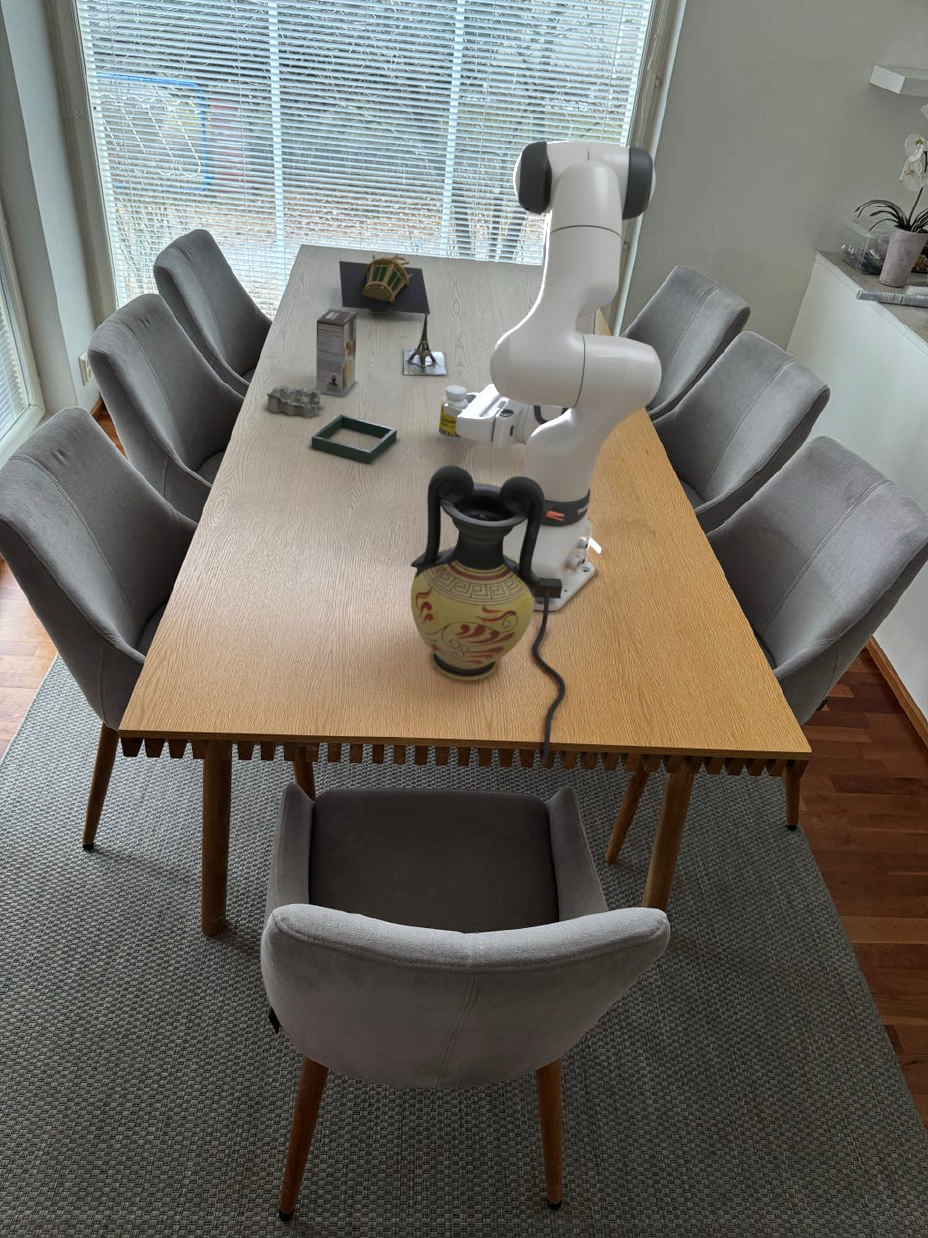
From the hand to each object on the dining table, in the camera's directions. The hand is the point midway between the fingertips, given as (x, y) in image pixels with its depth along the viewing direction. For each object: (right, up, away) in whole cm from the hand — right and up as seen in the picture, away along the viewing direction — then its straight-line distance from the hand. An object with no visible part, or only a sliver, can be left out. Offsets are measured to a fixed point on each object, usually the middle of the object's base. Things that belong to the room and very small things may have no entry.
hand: (450, 402), depth 188 cm
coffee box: (-26, +8, +21) cm, 34 cm away
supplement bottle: (0, -6, +4) cm, 7 cm away
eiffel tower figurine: (-7, +18, +37) cm, 42 cm away
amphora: (+3, -50, -53) cm, 73 cm away
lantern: (-20, +43, +70) cm, 85 cm away
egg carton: (-33, +1, +9) cm, 34 cm away
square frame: (-19, -9, -1) cm, 21 cm away
